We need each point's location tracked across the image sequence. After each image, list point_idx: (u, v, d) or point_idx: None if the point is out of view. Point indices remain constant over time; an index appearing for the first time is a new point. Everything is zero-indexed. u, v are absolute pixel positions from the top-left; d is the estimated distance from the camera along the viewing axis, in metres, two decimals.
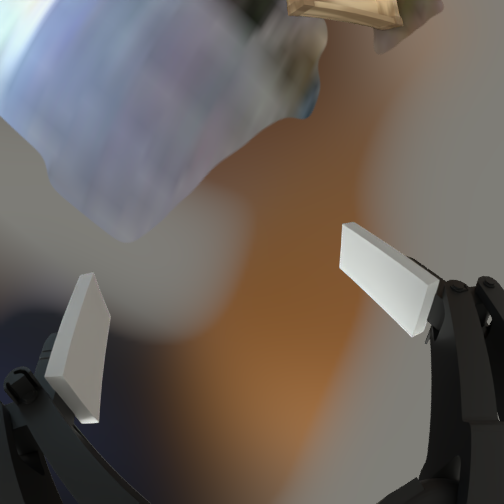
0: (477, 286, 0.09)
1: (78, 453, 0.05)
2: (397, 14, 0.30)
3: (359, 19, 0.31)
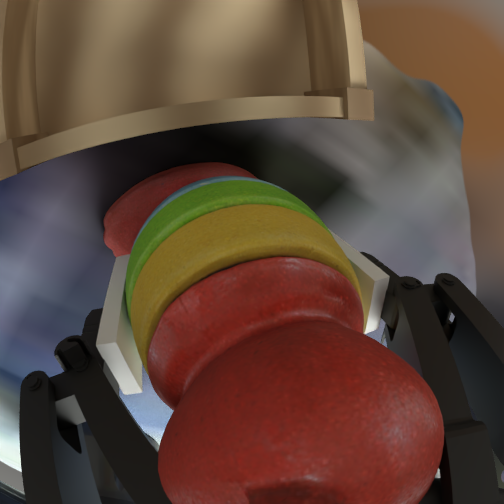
0: (435, 285, 0.10)
1: (124, 425, 0.06)
2: None
3: None
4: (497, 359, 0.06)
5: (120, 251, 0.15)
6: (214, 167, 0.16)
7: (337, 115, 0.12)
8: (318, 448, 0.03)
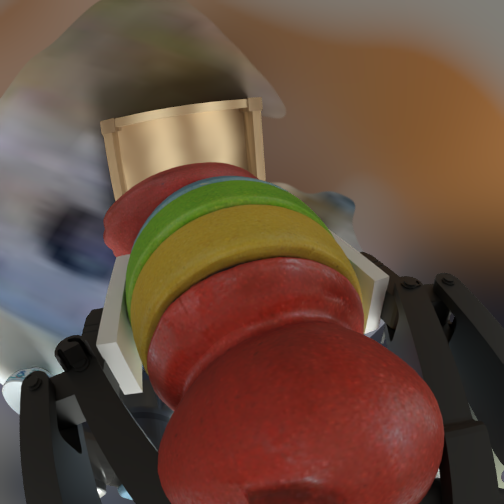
0: (435, 285, 0.10)
1: (124, 425, 0.06)
2: (242, 103, 0.30)
3: None
4: (497, 359, 0.06)
5: (120, 251, 0.15)
6: (214, 167, 0.16)
7: None
8: (318, 451, 0.03)
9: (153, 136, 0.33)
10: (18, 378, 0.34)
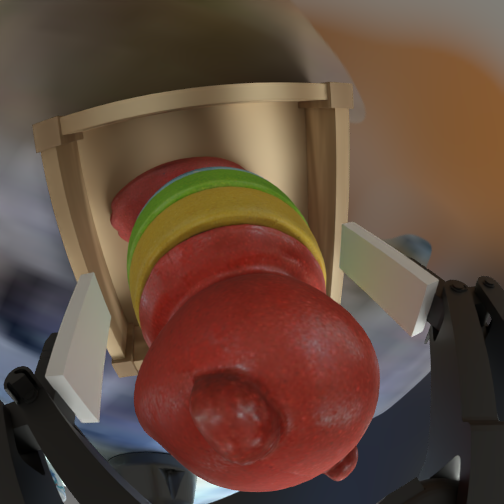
0: (477, 286, 0.09)
1: (79, 453, 0.05)
2: (319, 90, 0.15)
3: None
4: None
5: (124, 232, 0.18)
6: (209, 160, 0.18)
7: None
8: (248, 343, 0.05)
9: (142, 148, 0.17)
10: None
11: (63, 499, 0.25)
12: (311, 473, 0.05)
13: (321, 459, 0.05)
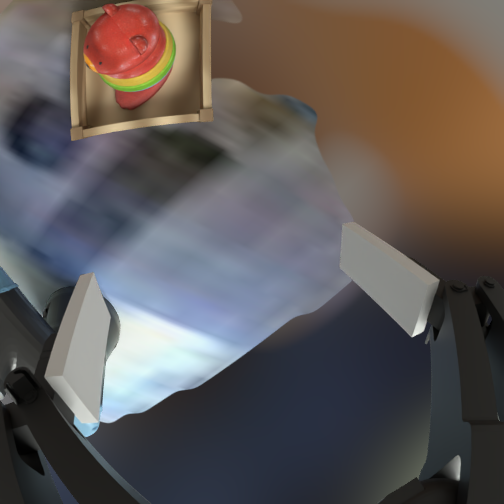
0: (477, 286, 0.09)
1: (78, 453, 0.05)
2: None
3: None
4: None
5: None
6: None
7: (196, 120, 0.33)
8: (119, 5, 0.16)
9: None
10: None
11: None
12: (123, 29, 0.16)
13: (126, 21, 0.16)
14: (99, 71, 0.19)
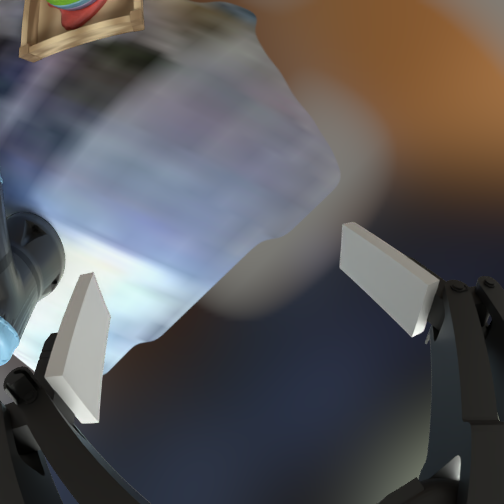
0: (477, 286, 0.09)
1: (78, 453, 0.05)
2: None
3: None
4: None
5: None
6: None
7: (127, 21, 0.26)
8: None
9: None
10: None
11: None
12: None
13: None
14: None
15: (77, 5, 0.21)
